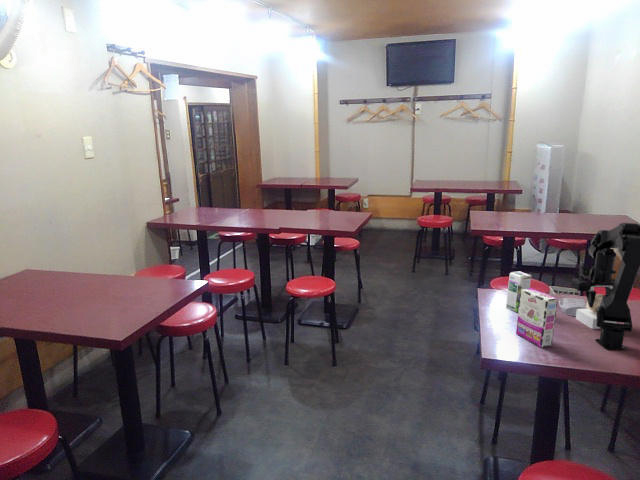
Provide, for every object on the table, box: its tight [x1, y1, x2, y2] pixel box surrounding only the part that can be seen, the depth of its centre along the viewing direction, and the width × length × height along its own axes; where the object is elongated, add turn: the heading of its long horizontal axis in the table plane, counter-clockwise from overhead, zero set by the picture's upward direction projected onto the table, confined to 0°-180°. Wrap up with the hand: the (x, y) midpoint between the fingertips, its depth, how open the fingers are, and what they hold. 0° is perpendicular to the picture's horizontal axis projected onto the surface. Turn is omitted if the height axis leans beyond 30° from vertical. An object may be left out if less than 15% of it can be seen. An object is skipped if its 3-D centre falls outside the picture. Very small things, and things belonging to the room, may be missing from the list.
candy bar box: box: [515, 287, 559, 349], centre depth 148 cm, size 11×5×16 cm, turn 21°
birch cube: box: [586, 293, 605, 313], centre depth 160 cm, size 5×5×5 cm
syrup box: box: [505, 271, 532, 313], centre depth 173 cm, size 6×6×14 cm
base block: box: [575, 309, 618, 330], centre depth 162 cm, size 9×9×4 cm
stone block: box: [557, 297, 588, 317], centre depth 173 cm, size 12×5×10 cm
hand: (597, 307), depth 161 cm, fingers closed on birch cube, 5 cm apart
